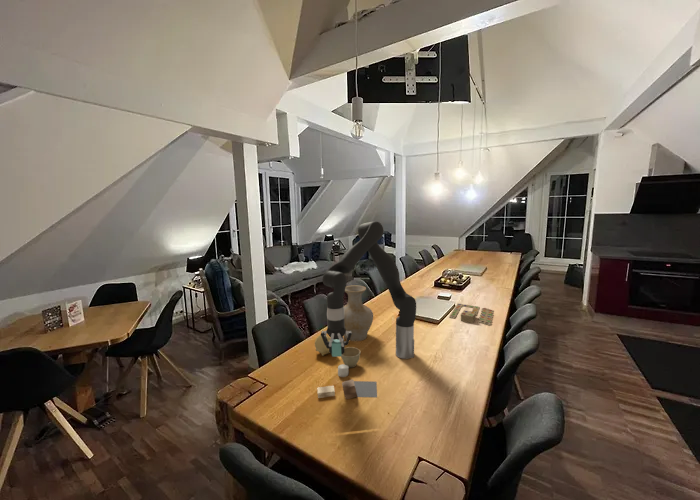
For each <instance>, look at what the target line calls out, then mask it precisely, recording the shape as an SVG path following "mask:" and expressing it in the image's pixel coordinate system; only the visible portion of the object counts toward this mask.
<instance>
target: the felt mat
mask: <svg viewBox="0 0 700 500" xmlns="http://www.w3.org/2000/svg"><path fill="white" fill-rule="evenodd" d="M377 383H378V382H377V381H371V380H370V381H367V380H365V381H361V380H357V381H356V380H354V384H355V388H356V393H357V397H356V398H378V385H377Z"/></svg>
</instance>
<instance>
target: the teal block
mask: <svg viewBox="0 0 700 500" xmlns="http://www.w3.org/2000/svg"><path fill="white" fill-rule="evenodd" d="M331 357H333V358H334V357H336V358H337V357H341V343H340V341H339V340H338V339H335V340H333V342H332V354H331Z"/></svg>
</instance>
